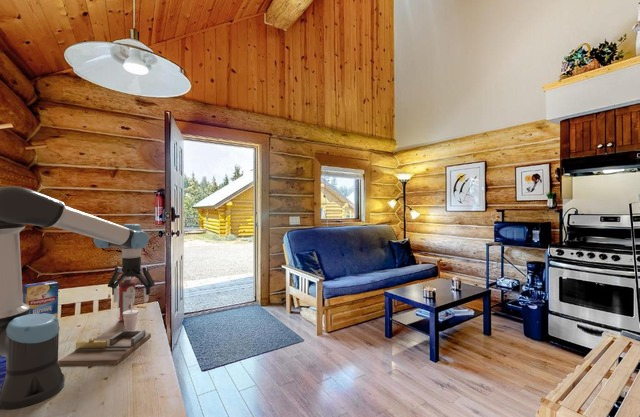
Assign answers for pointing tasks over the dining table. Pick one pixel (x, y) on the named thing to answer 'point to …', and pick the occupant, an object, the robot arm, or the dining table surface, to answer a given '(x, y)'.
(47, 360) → the robot arm
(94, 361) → the board
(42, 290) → the blue food box
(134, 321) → the smoothie
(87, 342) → the bar
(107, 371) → the dining table surface
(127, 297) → the liquor
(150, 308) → the dining table surface
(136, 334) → the collar
